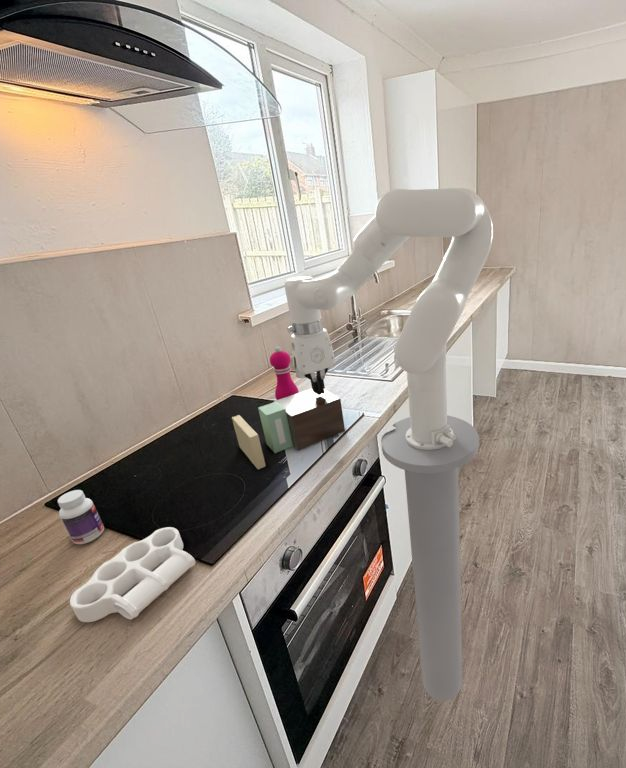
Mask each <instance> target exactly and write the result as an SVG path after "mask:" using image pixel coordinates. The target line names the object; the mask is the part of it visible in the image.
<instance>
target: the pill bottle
mask: <svg viewBox="0 0 626 768" xmlns="http://www.w3.org/2000/svg"><path fill="white" fill-rule="evenodd" d="M57 504H58V506H59V508H60V509H59V511H58V516H59V518H60V520H61V522H62V524H63V526H64V528H65V530H66V531H67V534H68V536H69V538H70V540H71V542H72V544H75V545H85V544H88V543H90V542H93V541H94V540H97V538H99V537H100V536H101V535H102V534H103V533H104V531H105V526H104V523H103V521H102V519H101V516H100V514H99V512H98V510H97V508H96V506H95V504H94V502H93V500H92V499H90V497H89V498H88V497H86V495H85V493H84V491H83V490H81V489H74V490H70V491H68V492H66V493H64V494H62V495H61V496H59V497H58V499H57Z"/></svg>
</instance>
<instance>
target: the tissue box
mask: <svg viewBox="0 0 626 768" xmlns="http://www.w3.org/2000/svg"><path fill="white" fill-rule="evenodd" d="M257 410H258V414H259V418H260V422H261V427H262V431H263V435H264V439H265V443H266V445H267V446H268V448H269V449H270V450H271V451H272V452H273V453H274V454H277V453H279V452H282V451H284V450H287V449H289V448H292V447H294V446H293V443H292V438H291V433H290V429H289V424H288V419H287V414H286V409H285V408H284V407H283V406H281V405H280V404H279V403H278V402H273V401H272V402H271V403H268V404H264V405H262V406H259V407H257Z"/></svg>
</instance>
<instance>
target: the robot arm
mask: <svg viewBox="0 0 626 768" xmlns="http://www.w3.org/2000/svg"><path fill="white" fill-rule="evenodd" d="M493 228H494V227H493V221H492V216H491V214H490V211H489V209H488V208H487V205H486V204H485V203H484V201H483V199H482V198H481V197H480V195H478V194H477V193H476V192H474V191H473V190H471V189H470V188H464V187H463V188H461V187H459V188H458V187H453V188H451V187H450V188H449V187H448V188H424V189H423V188H422V189H408V188H407V189H406V188H404V189H403V188H395V189H394V188H393V189H391V190H388V191H386V192H385V193H383V195H381V196H380V198H379V199H378V201H377V203H376V206H375V210H374V215H373V216H372V217H371V218H370V219H369V221H368V222H367V223H365V225H364V226H363V227H362V228H361V229H360V230H359V231H358V233H357V234H355V237H354V238H353V248H352V250H351V252H350V253H349V255H348V256H347V257H346V258H345V260H344V261H343V262H342V263H340V265H339V266H338V267H336V269H335V270H334V271H333V272H331V273H329V274H326V275H324V276H321V277H319V278H315V279H314V278H313V277H312V276H296V277H290V278H288V279H287V280H285V282H284V290H285V295H286V301H287V307H288V312H289V317H290V326H289V327H287V328H286V329H287V330H286V331H287V332H288V334H290V333H292V334H291V337H290V339H291V342H290V343H291V344H290V345H291V346H290V347H291V357H292V364H293V368H294V370H295V377H296V378H297V379H305V378H306V379H308V380H310V384H311V389H312V390H313V392H315V393H316V394H318V395H320V394H321V393H322V394H323V393H324V389H326V387H325V380H324V379H325V378H326V374H327V372H328V371H330V370H331V369H333V368H334V367H335V364H336V357H335V353H334V348H333V345H332V341H331V337H330V334H329V333H328V330H327V329H326V328H324V324H323V319H322V312H321V311H331V310H333V309H335V308H337V307H338V306H340V305H341V304H343V303H345V302H347V301H348V300H350V299H351V298H352V297H353V296H355V294H356V293H358V291H359V290H360V289H361V288H362V287H363V286H364V285H365V284H366V283H367V282H368V281H369V280H370V279H371V278H372V277H373V276H374V274H376V272H377V271H379V270H380V269H381V268H382V266H383V265H384V264H385V263H386V262H387V261H388V260H389V259H390V258H391V257H392V256H393V254H395V253H396V252H397V251H398V249H400V247H402V245H403V244H405V243H406V242H407V241H408V240H409V239H410V238H451V240H450V243H449V246H448V248H447V250H446V252H445V254H444V256H443V258H442V261H441V263H440V265H439V268H438V269H437V271H436V273H435V275H434V277H433V279H432V280H431V282H430V283H429V284H428V285H427V287H425V288H424V289H423V291H422V292H421V293H419V295H418V297H417V298H416V300H415V302H414V304H413V305H412V309H411V310H410V312H409V315H408V317H407V319H406V321H405V324H404V325H403V328H402V330H401V332H400V334H399V336H398V339H397V340H396V343H395V346H394V357H395V361H396V363H397V365H398V366H399V367H400V368H401V369H402V370H403V371H404V372H406V381H407V395H408V409H409V410H408V411H409V417H410V425H411V428H409V429H408V430H407V432H406V435H405V437H406V441H407V443H408V444H409V445H410V446H412V447H414V448H417V449H421V450H436V449H440V448H443V447H445V446H447V447H451V446H452V445H453V441H454V440H455V439H456V436H455V435H454V433H453V431H452V429H451V428H450V425H448V424H447V415H448V409H447V408H448V407H447V406H448V404H447V403H448V401H447V342H448V340H449V338H450V337H451V335H452V333H453V331H454V329H455V327H456V325H457V323H458V322H459V319H460V317H461V316H462V313H463V311H464V309H465V306H466V303H467V300H468V298H469V296H470V294H471V292H472V290H473V289H474V286H475V284H476V283H477V280H478V278H479V276H480V274H481V272H482V270H483V268H484V266H485V264H486V262H487V259H488V258H489V255H490V252H491V248H492V244H493V238H494V229H493Z"/></svg>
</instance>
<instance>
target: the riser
mask: <svg viewBox="0 0 626 768" xmlns="http://www.w3.org/2000/svg"><path fill="white" fill-rule="evenodd" d="M273 402H278V403H279V404H280V405H281V406H283V407H284V408H285V409H286V414H287V419H288V424H289V429H290V433H291V438H292V443H293V446H292V447H294V448H295V449H296V451H301V450H303V449H306V448H308V447H310V446H313V445H315V444H317V443H320V442H322V441H325V440H327V439H329V438H332V437H334V436H336V435H339V434H341V433H344V432H345V431H346V428H345V427H346V426H345V420H344V414H343V406H342V400H341V398H340V397H339V396H338V395H335V394H334V393H332V392H330V391H329V390H327V389H326V388H325V389H324V393H323V394H322V393H321V394H320V395H318V394H316V393H315V392H313V390H312V388H309V389H306V390H303V391H299V393H297V394H294V395H291V396H288V397H285V398H282V399H279V400H277V399H275V400H273V401H272V403H273Z"/></svg>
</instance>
